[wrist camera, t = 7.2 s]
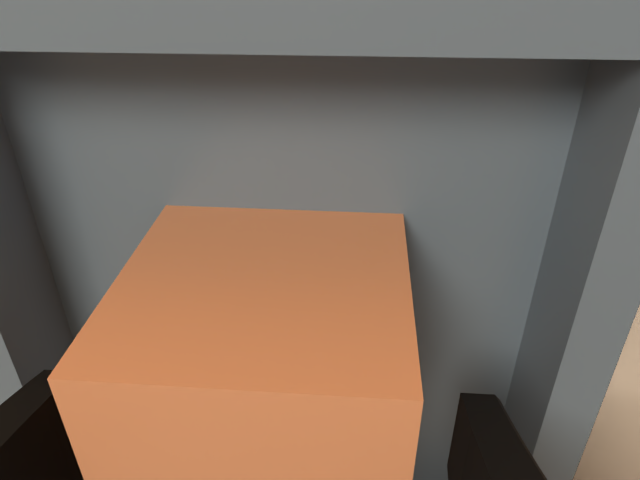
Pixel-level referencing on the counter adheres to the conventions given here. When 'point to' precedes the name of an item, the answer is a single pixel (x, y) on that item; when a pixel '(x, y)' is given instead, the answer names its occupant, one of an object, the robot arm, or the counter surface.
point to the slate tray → (345, 173)
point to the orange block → (250, 352)
